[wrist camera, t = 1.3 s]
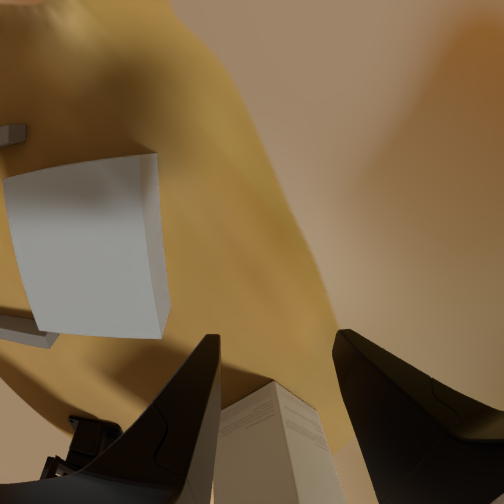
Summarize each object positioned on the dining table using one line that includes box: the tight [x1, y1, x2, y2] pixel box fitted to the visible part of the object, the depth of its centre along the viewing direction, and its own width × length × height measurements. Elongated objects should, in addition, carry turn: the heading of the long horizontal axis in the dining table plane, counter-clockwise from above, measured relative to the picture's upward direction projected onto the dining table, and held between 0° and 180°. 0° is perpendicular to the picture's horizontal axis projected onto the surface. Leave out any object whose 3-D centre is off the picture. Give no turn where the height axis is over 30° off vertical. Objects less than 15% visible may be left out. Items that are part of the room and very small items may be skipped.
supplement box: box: [213, 381, 347, 504], centre depth 18 cm, size 7×7×13 cm
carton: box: [3, 153, 171, 339], centre depth 15 cm, size 10×9×4 cm
